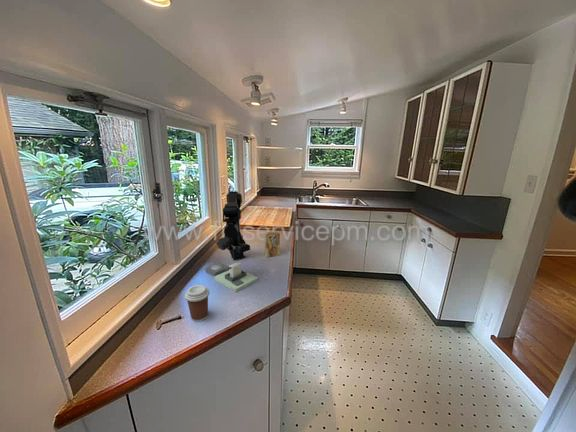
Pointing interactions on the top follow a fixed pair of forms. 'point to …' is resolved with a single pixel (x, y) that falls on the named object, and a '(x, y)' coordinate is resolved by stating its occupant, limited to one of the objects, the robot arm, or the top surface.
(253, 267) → the top surface
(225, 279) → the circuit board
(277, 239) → the candy box
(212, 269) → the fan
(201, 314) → the coffee cup
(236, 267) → the plug
